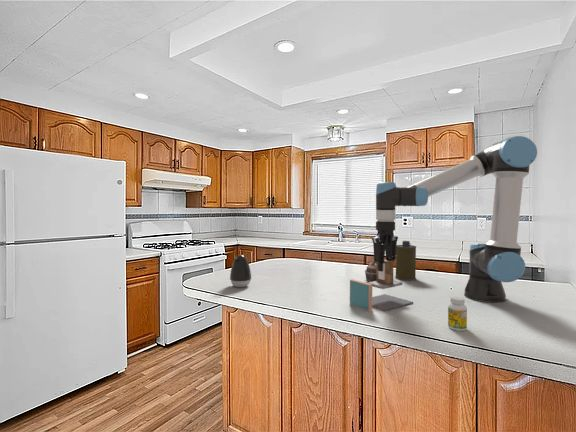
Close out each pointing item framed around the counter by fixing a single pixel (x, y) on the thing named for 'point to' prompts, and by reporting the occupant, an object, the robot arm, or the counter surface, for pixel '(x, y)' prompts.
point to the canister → (405, 261)
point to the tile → (361, 295)
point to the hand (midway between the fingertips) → (384, 278)
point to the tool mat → (388, 302)
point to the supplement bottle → (457, 314)
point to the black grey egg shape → (240, 272)
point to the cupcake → (371, 272)
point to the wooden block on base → (386, 277)
